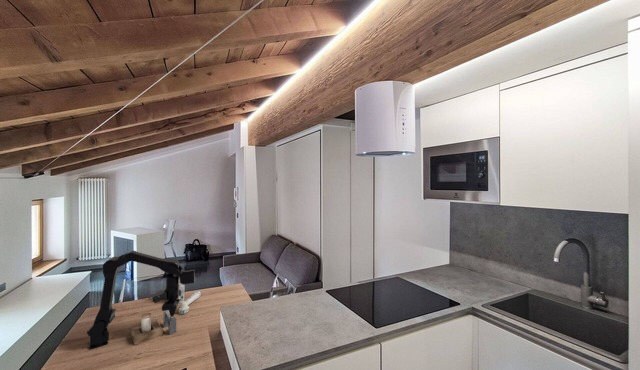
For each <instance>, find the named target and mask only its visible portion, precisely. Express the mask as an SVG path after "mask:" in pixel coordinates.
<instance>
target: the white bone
mask: <svg viewBox="0 0 640 370" xmlns="http://www.w3.org/2000/svg"><path fill="white" fill-rule="evenodd" d="M201 296H202V292H201V291H200V290H197V291H194V292H193V293H192V295H190V297H188V298H187V299H186V300H184V301H183V302H181V303H180V307H178V311H179V312H178V314H180V315H185V314H186V313H189V309H190V306H189V305H190V304H192V303H193V302H195V301H196V300H198V299H199V298H200V297H201Z"/></svg>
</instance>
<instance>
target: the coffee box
mask: <svg viewBox="0 0 640 370" xmlns="http://www.w3.org/2000/svg"><path fill="white" fill-rule="evenodd" d="M185 287H186V284H185V285H182V284H181V283H180V277H179V289H180V290H181V296H179V297H178V299H180V300H179V303H178V305H179V304H181V302H183V301H185Z"/></svg>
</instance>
